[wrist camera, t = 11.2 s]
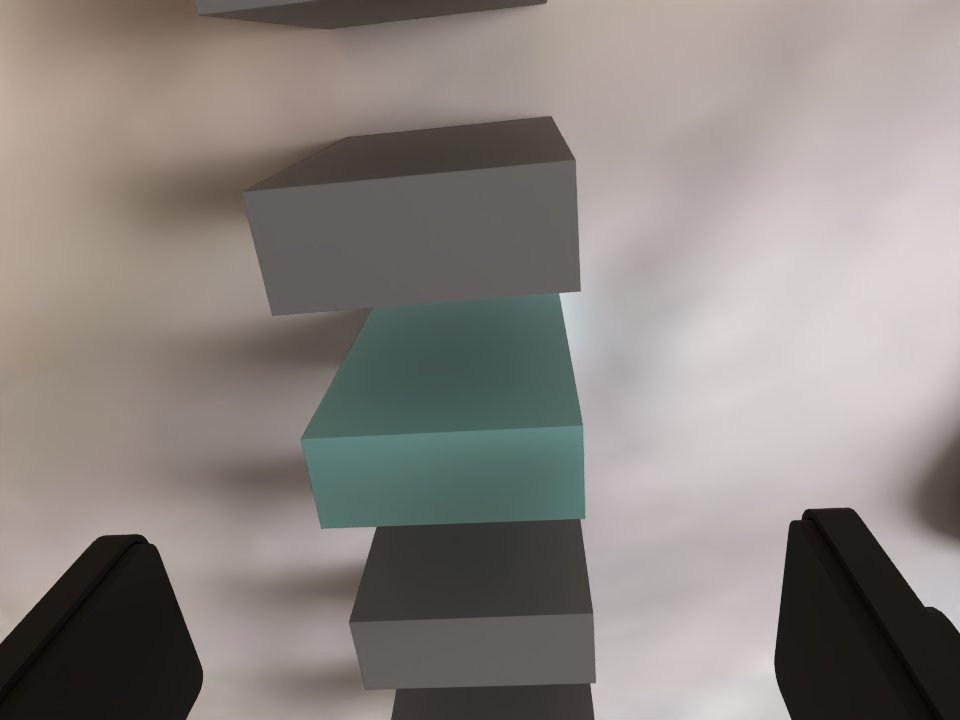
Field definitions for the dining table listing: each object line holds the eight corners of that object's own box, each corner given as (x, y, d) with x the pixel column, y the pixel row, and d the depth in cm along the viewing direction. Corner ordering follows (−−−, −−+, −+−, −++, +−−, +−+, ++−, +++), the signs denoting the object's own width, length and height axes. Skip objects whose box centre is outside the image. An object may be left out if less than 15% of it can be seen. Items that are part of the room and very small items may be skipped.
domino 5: (555, 199, 17) (580, 291, 10) (362, 217, 17) (272, 315, 11) (551, 116, 16) (575, 160, 10) (347, 136, 16) (241, 192, 10)
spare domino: (375, 303, 18) (300, 439, 12) (558, 291, 18) (582, 425, 11) (385, 368, 19) (321, 528, 13) (561, 358, 19) (584, 518, 12)
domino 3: (570, 486, 20) (596, 683, 14) (411, 494, 21) (365, 689, 14) (567, 430, 20) (593, 613, 13) (401, 441, 20) (349, 622, 14)
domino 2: (576, 594, 22) (601, 810, 16) (429, 599, 23) (396, 813, 16) (573, 547, 21) (598, 756, 15) (421, 554, 22) (383, 760, 15)
